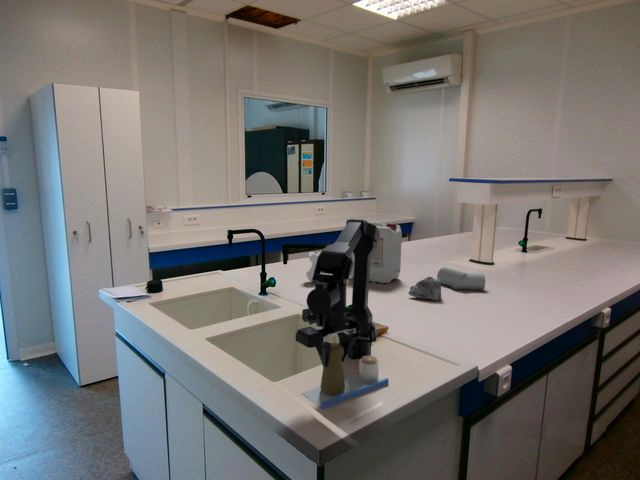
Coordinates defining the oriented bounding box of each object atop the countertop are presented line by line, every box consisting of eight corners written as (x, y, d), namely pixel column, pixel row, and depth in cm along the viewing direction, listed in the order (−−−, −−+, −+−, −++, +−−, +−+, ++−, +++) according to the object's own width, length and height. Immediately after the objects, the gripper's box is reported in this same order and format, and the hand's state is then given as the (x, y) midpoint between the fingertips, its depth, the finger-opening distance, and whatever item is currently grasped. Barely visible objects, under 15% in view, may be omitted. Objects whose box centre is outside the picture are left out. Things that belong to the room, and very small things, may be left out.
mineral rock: (407, 297, 194) (408, 275, 192) (419, 293, 202) (420, 272, 200) (433, 303, 185) (434, 280, 184) (445, 298, 193) (446, 276, 192)
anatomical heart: (303, 283, 217) (304, 253, 215) (310, 278, 228) (311, 250, 226) (322, 285, 214) (322, 255, 212) (328, 279, 225) (329, 251, 223)
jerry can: (402, 278, 230) (404, 222, 226) (388, 285, 215) (390, 225, 210) (362, 272, 243) (363, 219, 239) (345, 279, 227) (347, 222, 223)
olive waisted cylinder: (330, 379, 111) (330, 338, 109) (349, 386, 107) (350, 343, 106) (315, 388, 106) (315, 345, 105) (335, 396, 103) (336, 351, 101)
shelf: (365, 375, 118) (365, 366, 118) (388, 387, 111) (388, 378, 111) (301, 398, 106) (301, 388, 105) (322, 413, 99) (322, 403, 98)
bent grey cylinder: (442, 289, 205) (486, 290, 203) (442, 266, 206) (486, 267, 204) (435, 287, 222) (475, 289, 221) (435, 267, 223) (475, 268, 222)
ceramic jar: (369, 373, 117) (369, 353, 116) (382, 380, 113) (383, 359, 112) (354, 378, 114) (355, 357, 113) (368, 385, 110) (368, 364, 109)
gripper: (342, 288, 115) (341, 344, 118) (282, 300, 104) (283, 362, 107) (371, 298, 107) (370, 359, 109) (309, 312, 96) (309, 379, 98)
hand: (333, 364), depth 106 cm, fingers closed on olive waisted cylinder, 5 cm apart
